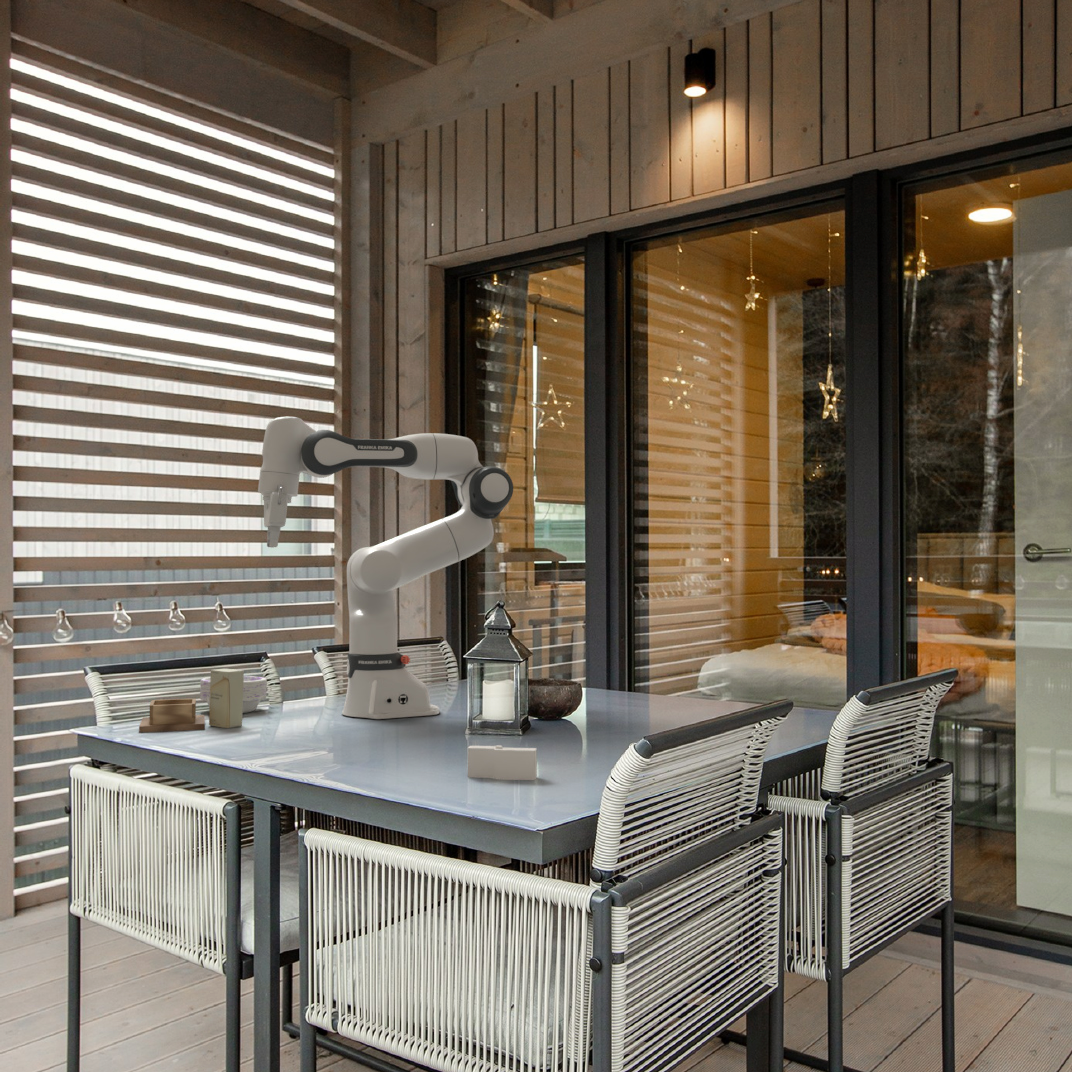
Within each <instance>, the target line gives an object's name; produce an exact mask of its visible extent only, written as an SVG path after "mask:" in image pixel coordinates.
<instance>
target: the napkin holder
mask: <svg viewBox="0 0 1072 1072" xmlns="http://www.w3.org/2000/svg"><path fill="white" fill-rule="evenodd" d="M537 751H538V749H537V747H503V745H498V744H497V745H469V746H468V747H467V778H487V779H489V778H490V779H493V780H505V781H506V780H508V781H509V780H510V781H511V780H512V781H516V780H517V781H536V780H537V775H538V771H537V770H538V766H537V764H538V761H537V759H538V757H537V756H538V752H537Z"/></svg>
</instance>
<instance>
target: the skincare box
mask: <svg viewBox="0 0 1072 1072" xmlns="http://www.w3.org/2000/svg"><path fill="white" fill-rule="evenodd" d="M244 673H245V671H244V669H243V670H242V669H235V668H234V669H233V668H219V669H218V668H217V669H215V668H214V669H210V677H211V679H210V708H209V711H208V713H209V714H208V715H209V716H208V718H209V719H208V725H209V726H212V727H218V728H223V729H231V728H237V727H242V726H243V713H242V710H243V678H244V676H245V675H244Z"/></svg>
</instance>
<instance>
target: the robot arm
mask: <svg viewBox="0 0 1072 1072" xmlns="http://www.w3.org/2000/svg"><path fill="white" fill-rule="evenodd" d="M261 453H262V454H261V455H262V465H261V466H260V467H261V468H260V469H259V479H258V489H257V492H258V493H260V494H261V495H262V496H263V497H262V500H263V526H264V528H267V530H266V531H267V532H266V533H267V536H266V537H267V539H266V541H267V542H266V547H268V548H271V549H272V548H278V545H279V538H280V534H281V528H283V527H285V525H286V522H287V513H288V512H287V511H288V504H292V499H293V498H292V497H298V495H299V485H300V483H299V482H300V476H301V475H300V474H301V473H303V474H307V475H310V476H311V477H314V478H322V479H323V478H327V477H330V476H332V475H334V474H336V473H338V472H340V471H342V470H344V469H348V468H349V469H350V468H386V469H390V470H394V471H395V472H397V473H399V474H400V475H401V476H403V477H405V478H410V479H415V480H416V479H417V480H427V481H429V480H447V481H448V480H449V481H451V485H452V488H453V491H454V495H455V498H456V500H457V503H458V504H459V506H461V507H460V509H459V510H458V511H457V512H455V513H452V514H451V515H448V516H446V517H443V518H440V519H437V520H435V521H433V522H429V523H428V524H427V523H426V524H425V525H422V526H419V527H416V528H413V529H411V530H409V531H406V532H405V533H402V534H400V535H398V536H395V537H393V538H390V539H388V540H385V541H383V542H380V543H378V544H376V545H372V546H366V547H361V548H359V549H357V550H356V551H354V552H353V553H352V554H351V556H350V557H349V559H348V561H347V563H346V564H347V565H346V585H347V586H346V587H347V588H346V589H347V590H346V591H347V602H348V604H347V606H348V617H349V624H348V625H349V629H348V631H349V634H348V635H349V639H348V640H349V647H348V648H349V650H348V651H349V652H348V653H347V658H346V675H347V678H348V679H347V689H346V696H345V700H344V701H345V702H344V705H343V709H342V711H341V715H344V716H346V717H352V718H353V717H354V718H366V719H374V720H382V719H383V720H384V719H397V718H398V719H399V718H409V717H423V716H435V715H438V714H440V712H441V711H440V707H439V706H438V705H435V704H432V703H431V698H430V692H429V690H428V686H427V685H426V684H425V683H424V682H423V681H422V680H421V679H419V678H418V677H417V676H415V675H414V674H413V673H412V672H410V671H409V670H408V669H406V668H405V667H406V665H409V664H410V662H411V657H410V656H409V655H406V654H405V655H403V654H402V653H400V652H398V615H397V609H396V602H395V590H396V589H399V588H401V587H403V586H405V585H408V584H409V583H411V582H414V581H416V580H418V579H420V578H422V577H424V576H427V575H428V574H431V573H433V572H437V571H438V570H441V569H443V568H446V567H449V566H451V565H453V564H456V563H458V562H461V561H462V560H466V559H467V558H470V557H471V556H474V555H475V554H477V553H479V552H480V551H482V550H483V549H485V548H487V547H488V546H489V545H490V544H492V542H493V539H494V536H495V535H494V534H495V531H494V530H495V529H494V525H493V523H492V522H493V521H492V520H494V519H496V518H497V517H498V516H499V515H500V513H501V512H502V511H503V510H504V509H505V508H506V507H507V505H508V504H509V503H510V500H511V499H512V497H513V495H514V494H513V493H514V483H513V480H512V478H511V476H510V475H509V473H507V472H506V471H505V470H504V469H503V468H500V467H497V466H493V465H489V466H488V465H487V466H483V464H481V462H480V461H479V453H478V448H477V446H476V444H475V442H474V441H473V440H472V439H471V438H469V437H467V436H462V435H456V434H450V433H449V434H448V433H438V432H437V433H435V432H434V433H433V432H432V433H431V432H429V433H427V432H425V433H424V432H423V433H414V434H408V435H404V436H399V437H395V438H388V439H378V438H377V439H373V438H372V439H371V438H370V439H369V438H351V437H348V436H344V435H342V434H340V433H338V432H336V431H333V430H329V429H320V430H315V429H314V428H312V427H311V426H309V425H308V424H307V423H306V422H305V421H304V420H303V419H302V418H301V417H297V416H280V417H275V418H273V419H272V420H270V421H269V422H268V424H267V425H266V428H265V432H264V437H263V444H262V451H261Z"/></svg>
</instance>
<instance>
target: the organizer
mask: <svg viewBox="0 0 1072 1072" xmlns="http://www.w3.org/2000/svg"><path fill="white" fill-rule="evenodd" d="M196 701H197V699H196V698H176V699H175V698H174V699H173V698H172V699H170V698H169V699H153V700H152V699H151V701H150V704H149V716H148V717H144V716H143V717H142V718H141V721H140V724H139V727H138V730H139V731H138V732H139V733H153V732H154V733H155V732H174V731H175V732H177V731H179V732H180V731H197V730H205V725H206V723H205V721H206V720H205V717H206V715H205V714H196V711H197V709H196V707H197V706H196V705H197V702H196Z"/></svg>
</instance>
